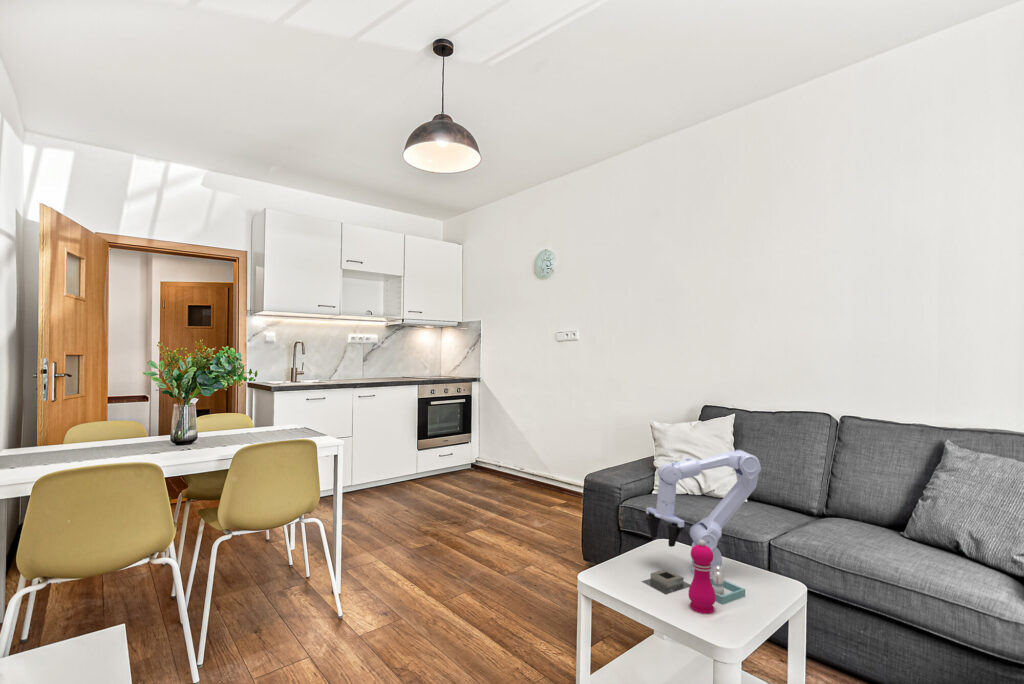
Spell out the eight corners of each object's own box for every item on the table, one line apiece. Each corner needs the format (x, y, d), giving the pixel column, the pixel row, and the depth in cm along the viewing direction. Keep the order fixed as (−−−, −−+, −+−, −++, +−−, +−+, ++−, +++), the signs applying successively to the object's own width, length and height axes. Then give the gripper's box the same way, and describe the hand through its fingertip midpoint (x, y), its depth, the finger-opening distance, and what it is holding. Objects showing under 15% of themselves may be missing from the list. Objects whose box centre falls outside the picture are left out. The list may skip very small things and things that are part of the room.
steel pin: (717, 591, 152) (717, 562, 152) (725, 595, 149) (725, 566, 149) (710, 593, 150) (710, 564, 151) (718, 597, 148) (718, 567, 148)
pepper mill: (701, 620, 136) (701, 546, 136) (682, 608, 142) (682, 537, 143) (721, 615, 138) (721, 542, 139) (702, 603, 145) (702, 534, 146)
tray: (715, 585, 157) (715, 576, 157) (745, 599, 148) (745, 589, 148) (692, 593, 152) (692, 583, 152) (722, 607, 143) (722, 597, 143)
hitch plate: (668, 576, 163) (668, 565, 163) (692, 589, 154) (692, 577, 154) (641, 584, 157) (641, 573, 157) (665, 597, 148) (665, 585, 148)
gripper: (641, 495, 170) (637, 535, 169) (675, 508, 157) (671, 551, 157) (655, 494, 173) (652, 533, 173) (690, 506, 161) (686, 549, 161)
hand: (662, 541), depth 165 cm, fingers open, 7 cm apart
